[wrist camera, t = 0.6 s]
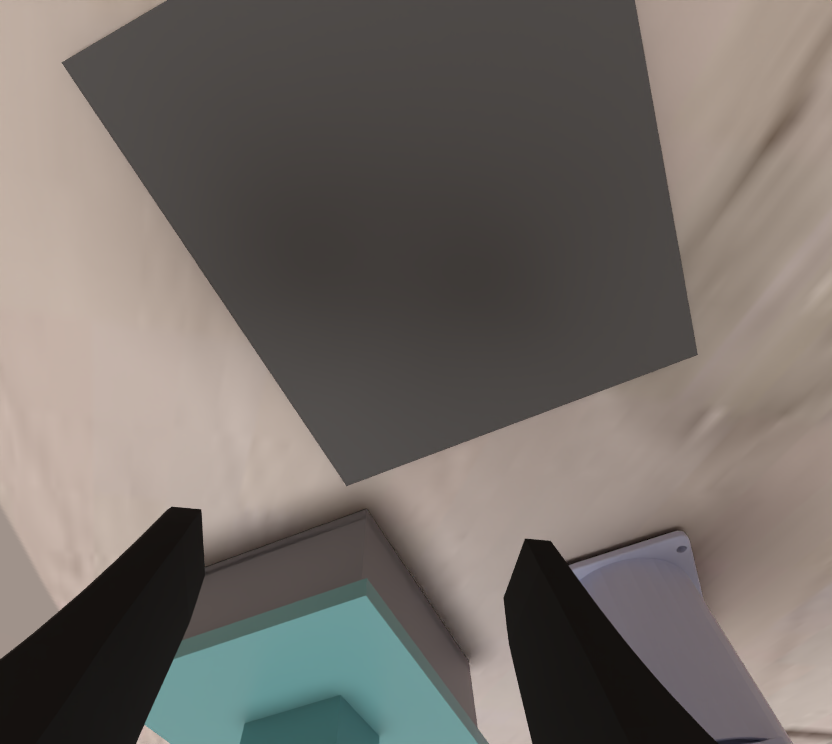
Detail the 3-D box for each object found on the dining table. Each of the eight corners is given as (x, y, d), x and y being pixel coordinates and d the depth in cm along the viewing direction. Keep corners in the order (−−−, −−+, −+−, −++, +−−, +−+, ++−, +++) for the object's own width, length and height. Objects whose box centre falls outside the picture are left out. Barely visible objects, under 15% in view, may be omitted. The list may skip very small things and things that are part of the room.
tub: (468, 662, 30) (480, 746, 26) (297, 712, 32) (283, 798, 28) (366, 508, 24) (361, 589, 20) (160, 583, 26) (118, 670, 22)
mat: (692, 350, 20) (697, 355, 20) (347, 480, 23) (346, 486, 23) (584, -239, 12) (590, -250, 12) (69, 63, 15) (61, 62, 15)
